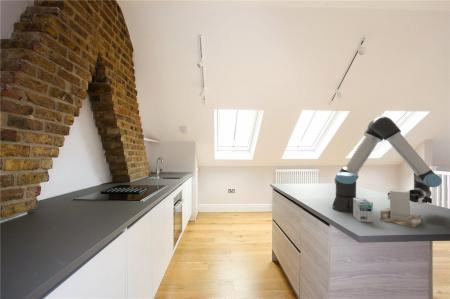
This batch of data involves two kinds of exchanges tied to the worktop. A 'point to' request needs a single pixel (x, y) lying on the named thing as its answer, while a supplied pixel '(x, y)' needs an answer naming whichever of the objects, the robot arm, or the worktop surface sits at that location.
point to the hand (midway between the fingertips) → (403, 199)
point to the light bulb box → (362, 210)
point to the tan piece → (412, 222)
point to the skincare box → (399, 205)
